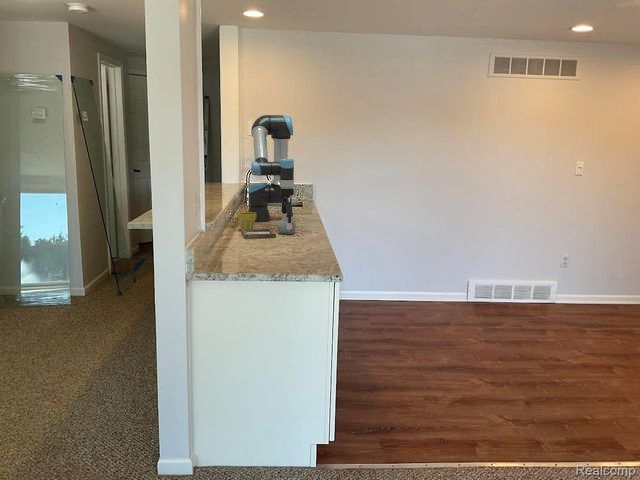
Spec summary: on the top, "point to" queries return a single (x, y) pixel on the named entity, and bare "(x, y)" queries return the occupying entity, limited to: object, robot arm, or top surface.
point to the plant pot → (246, 220)
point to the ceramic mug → (286, 227)
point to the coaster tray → (258, 233)
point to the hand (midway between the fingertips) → (286, 227)
